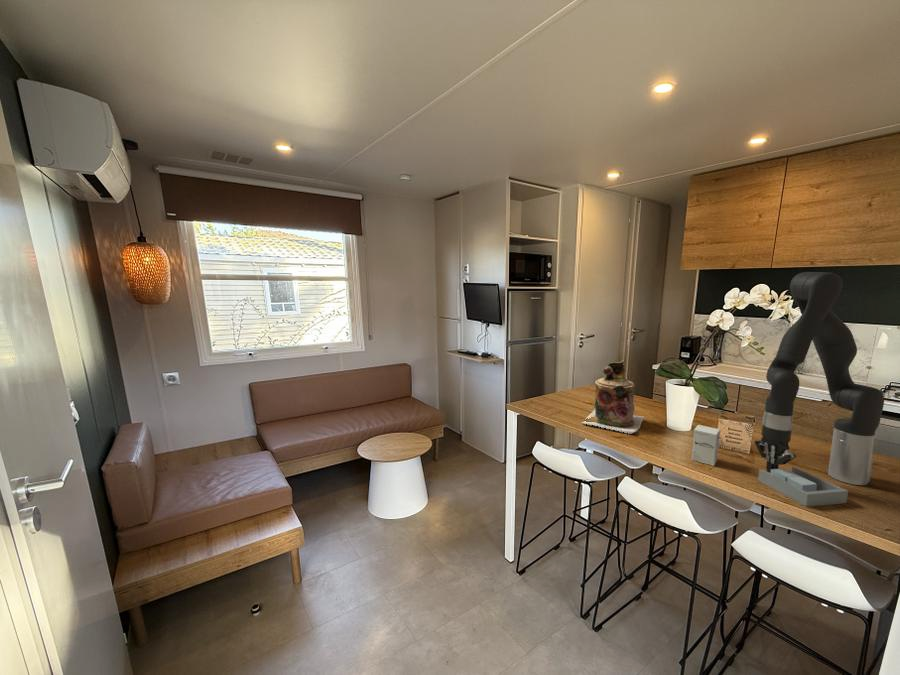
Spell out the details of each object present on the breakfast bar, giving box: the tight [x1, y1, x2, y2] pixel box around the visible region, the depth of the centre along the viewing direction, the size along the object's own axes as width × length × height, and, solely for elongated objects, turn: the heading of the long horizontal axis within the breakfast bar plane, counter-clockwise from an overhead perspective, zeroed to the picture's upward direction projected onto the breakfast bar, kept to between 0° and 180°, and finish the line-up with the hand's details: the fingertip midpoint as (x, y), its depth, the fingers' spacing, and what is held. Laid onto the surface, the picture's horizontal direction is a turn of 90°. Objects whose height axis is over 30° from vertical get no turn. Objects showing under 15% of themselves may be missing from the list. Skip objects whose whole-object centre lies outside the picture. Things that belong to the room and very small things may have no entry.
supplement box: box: [691, 424, 721, 467], centre depth 138 cm, size 7×7×13 cm
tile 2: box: [786, 476, 817, 492], centre depth 116 cm, size 5×5×4 cm
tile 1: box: [770, 467, 799, 481], centre depth 121 cm, size 5×5×4 cm
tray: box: [757, 466, 849, 507], centre depth 116 cm, size 14×15×4 cm
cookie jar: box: [581, 359, 645, 435], centre depth 176 cm, size 25×25×32 cm
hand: (771, 472), depth 125 cm, fingers closed
